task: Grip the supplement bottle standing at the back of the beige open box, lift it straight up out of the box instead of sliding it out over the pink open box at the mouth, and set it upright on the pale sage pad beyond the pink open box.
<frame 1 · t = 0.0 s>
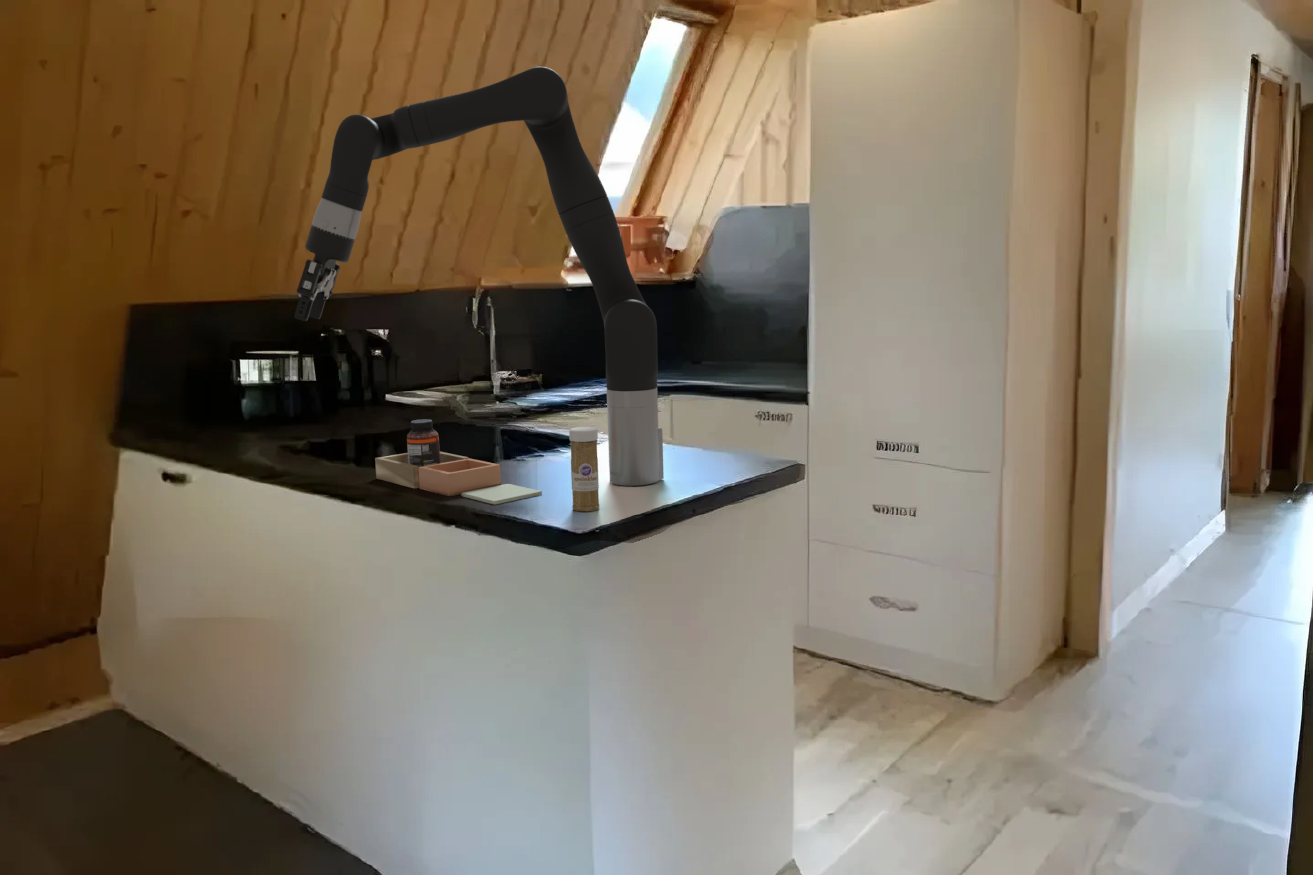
hand: (307, 318, 179), 31 cm above the counter, tool tilted 20°, fingers open, 8 cm apart
beige open box: (422, 478, 196), on the counter
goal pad: (501, 495, 179), on the counter
sprinkles bottle: (586, 510, 167), on the counter
pink open box: (460, 487, 186), on the counter
supplement bottle: (425, 480, 195), resting in beige open box
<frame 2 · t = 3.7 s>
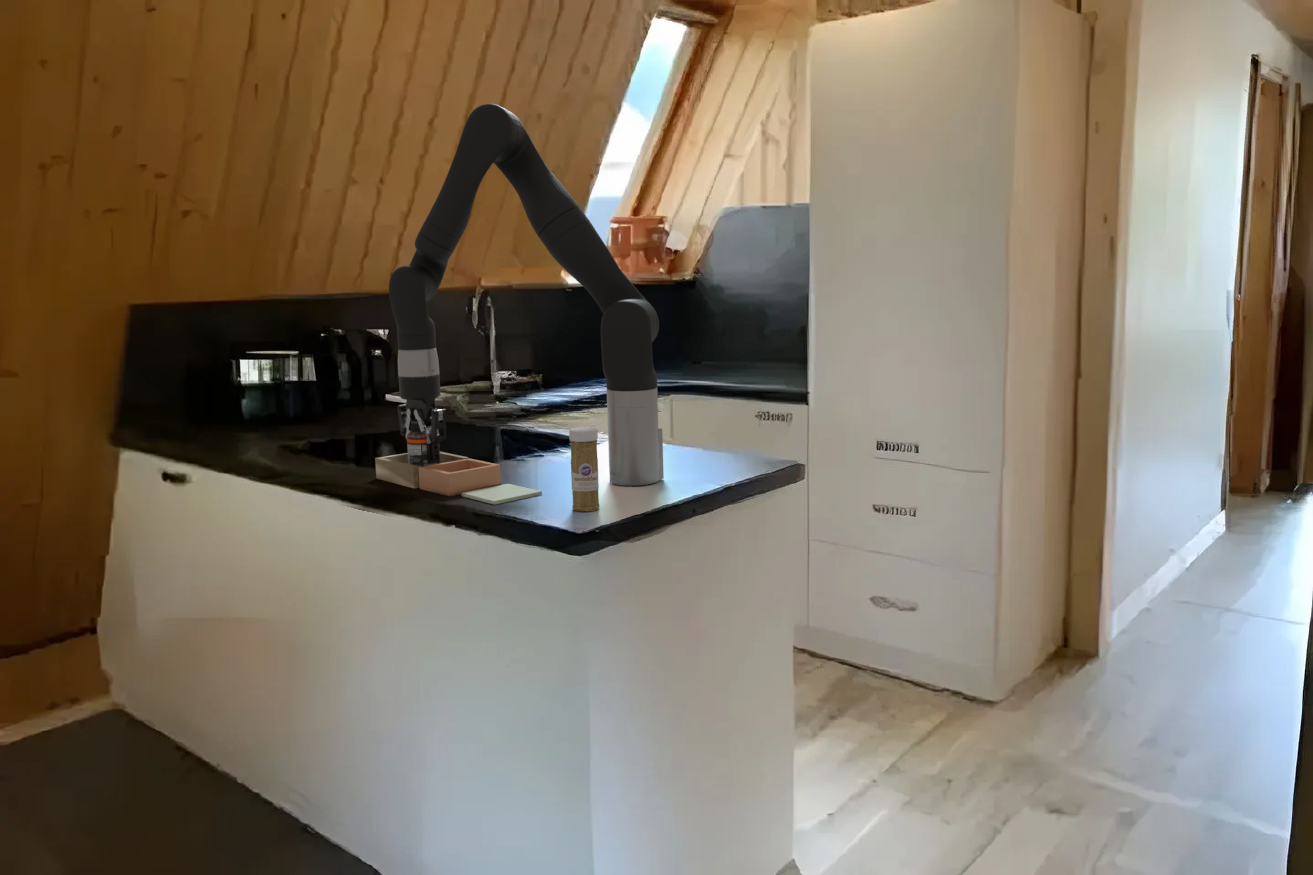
hand: (424, 460, 194), 4 cm above the counter, tool pointing down, fingers closed on supplement bottle, 6 cm apart
supplement bottle: (425, 479, 195), resting in beige open box, touching gripper
everything else where it was.
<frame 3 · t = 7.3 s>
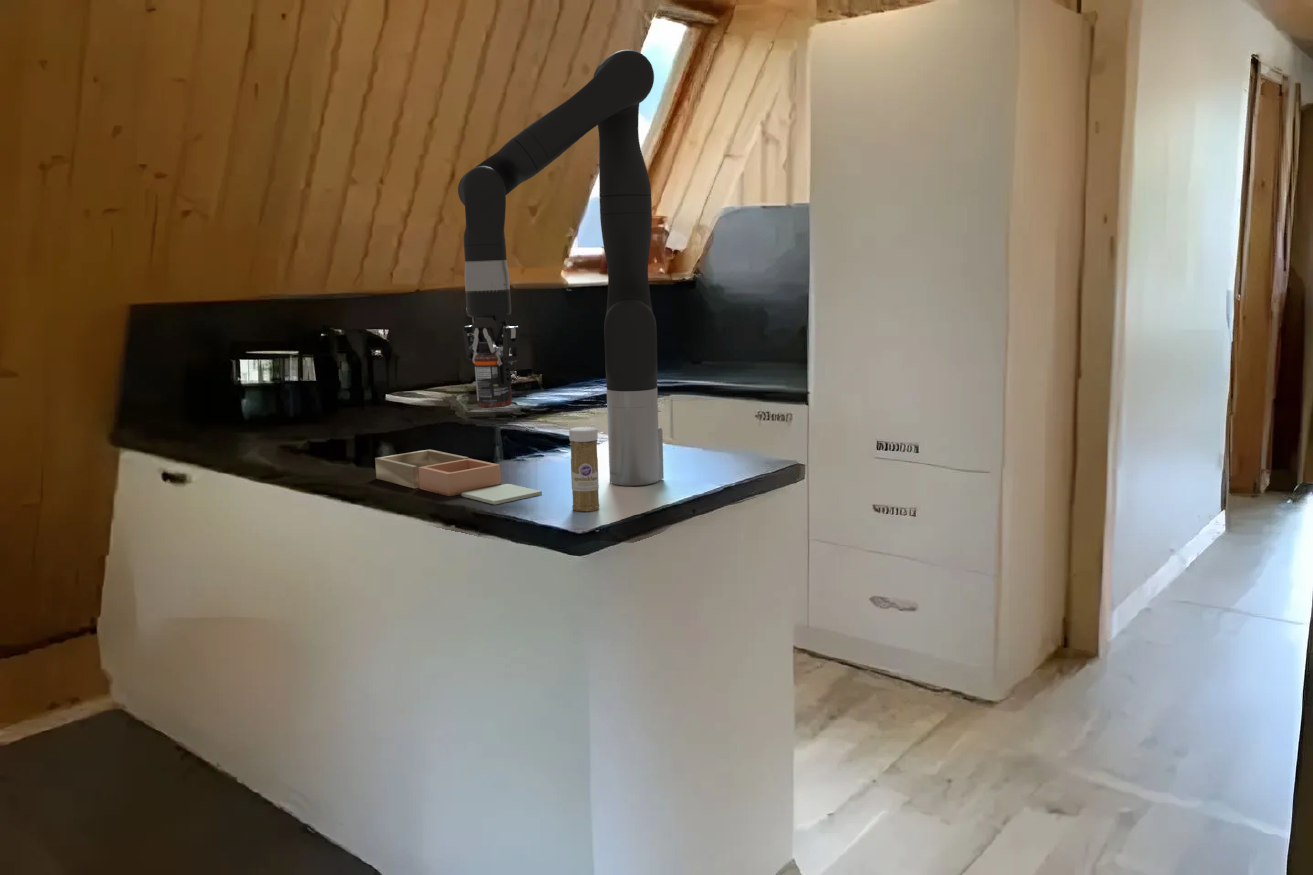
hand: (494, 385, 177), 19 cm above the counter, tool pointing down, fingers closed on supplement bottle, 6 cm apart
supplement bottle: (495, 407, 177), point 15 cm above the counter, touching gripper
everything else where it was.
when the fingers open (6 cm above the counter, at t = 11.1 s): supplement bottle drops 1 cm, resting on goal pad.
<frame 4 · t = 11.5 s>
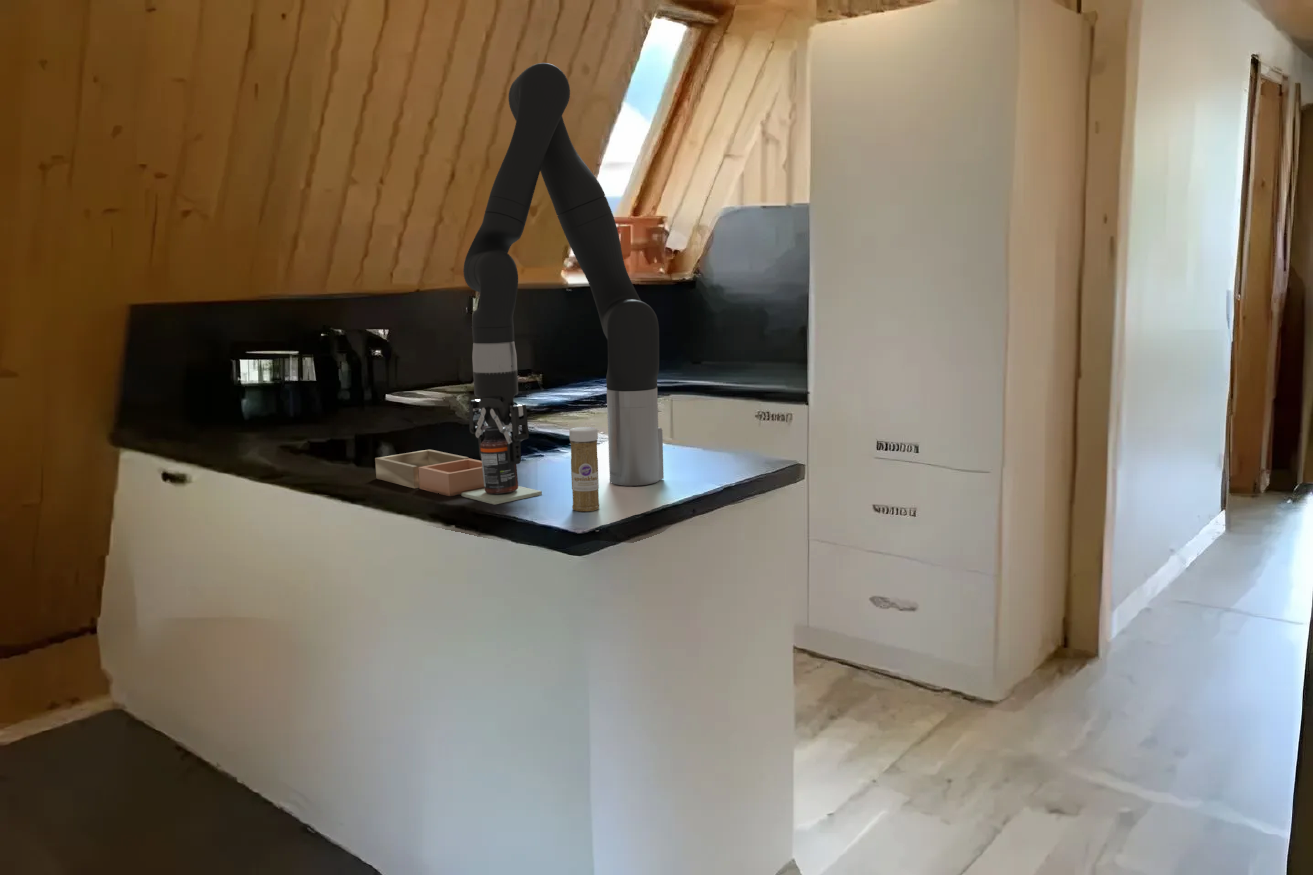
hand: (499, 461, 178), 6 cm above the counter, tool pointing down, fingers open, 8 cm apart
supplement bottle: (501, 492, 179), point 1 cm above the counter, touching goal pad
everything else where it was.
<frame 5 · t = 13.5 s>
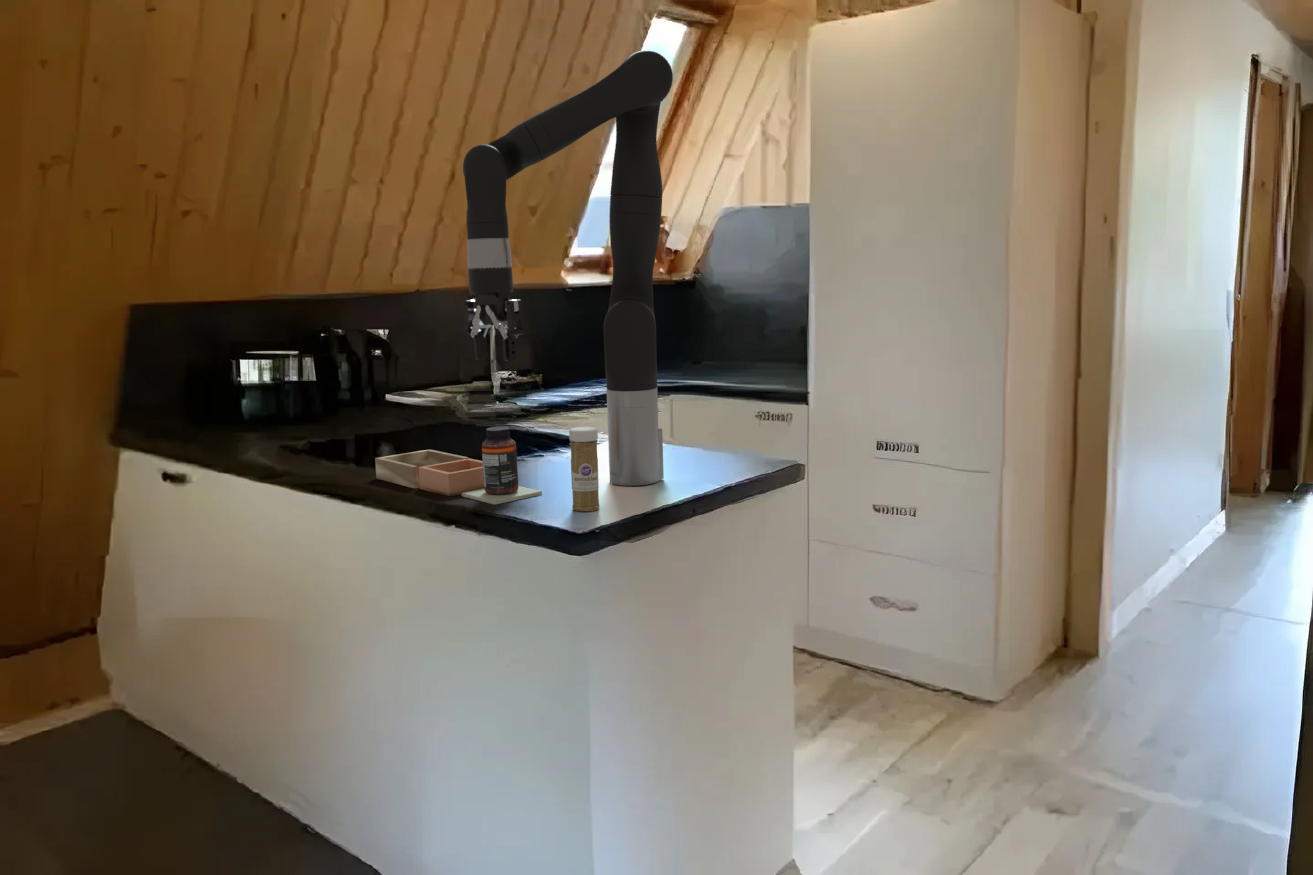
hand: (495, 359, 178), 24 cm above the counter, tool pointing down, fingers open, 8 cm apart
nothing on the counter moved.
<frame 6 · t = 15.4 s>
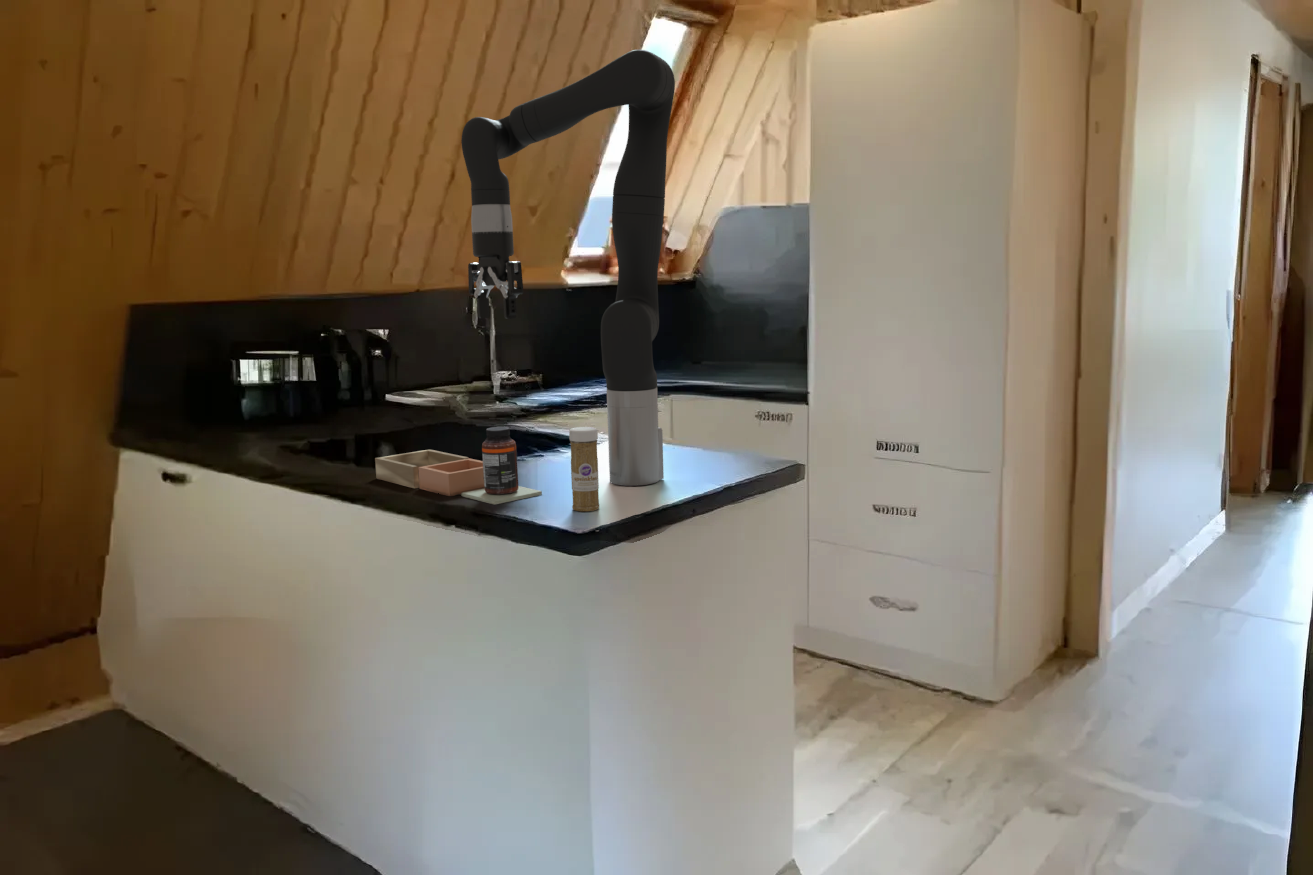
hand: (496, 318, 192), 30 cm above the counter, tool pointing down, fingers open, 8 cm apart
nothing on the counter moved.
at the end: supplement bottle inside the target area on the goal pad (0.0 cm from its centre), point 0.4 cm above the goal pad's base; supplement bottle tilted 1°; the gripper is holding nothing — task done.
